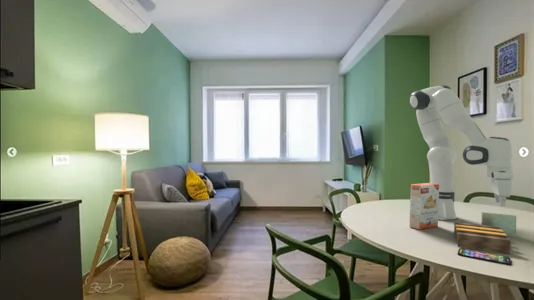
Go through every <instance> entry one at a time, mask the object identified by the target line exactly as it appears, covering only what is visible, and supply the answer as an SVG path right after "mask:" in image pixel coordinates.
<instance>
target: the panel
mask: <svg viewBox="0 0 534 300" xmlns="http://www.w3.org/2000/svg"><path fill="white" fill-rule="evenodd" d="M480 221H481V222H480V223H481V224H480V225H487V226H496V227H500V230H503V231H504V233H505V234H506V235H507V237H516V238H517V215H515V214H506V213H494V212H486V211H485V212H484V211H482V212H481V220H480Z"/></svg>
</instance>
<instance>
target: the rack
mask: <svg viewBox="0 0 534 300" xmlns="http://www.w3.org/2000/svg"><path fill="white" fill-rule="evenodd" d="M453 225H454V227H453V230H454V231H453V233H454V238H455V240H456V244H457V247H459V248H463V249H470V250H477V251H486V252H493V253H498V254H500V253H501V254H506V255H510V254H511V239H510V238H508V236H507V235H506V234H505V233H504V231H503V230H500V227H496V226H487V225H481V224H475V223H469V222H458V221H454V223H453Z"/></svg>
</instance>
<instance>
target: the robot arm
mask: <svg viewBox="0 0 534 300" xmlns="http://www.w3.org/2000/svg"><path fill="white" fill-rule="evenodd" d="M408 100H409V101H408V102H409V104H410V107H411V108H412V109H413V110H416V112H415V113H416V114H415V115H416V120H417V124H418V126H419V129H420V132H421V135H422V137H423V140H424V141H425V142H426V144H427V146H428V147H429V150H428V152H427V154H426V158H427V161H428V162H427V163H428V169H429V173H430V174H429V177H430V183H434V184H439V206H438V221H439V220H441V221H446V220H456V219H457V218H458V217H457V212H456V209H455V208H456V207H455V202H456V201H455V200H456V194H455V189H454V188H455V177H454V172H453V166H452V165H453V164H454V163H455V161H456V160H457V158H458V153H457V151H456V149H455V147H454V145H453V143H452V141H451V140H450V138H449V136H448V134H447V132H446V130H445V127H444V125H443V123H442V122H444V123H445V124H446V125H447V126H449V127H452V128H455V129H456V130H459V131H461V132H462V133H463V134H464V135H465V136H466V138H467V139H468V140H469V141H468V142H470V144H471V145H468V146H466V147H465V148H464V150H463V152H462V159H463V160H464V162H465V163H466V164H468V165H471V166H486V177H487V178H490V189H491V192H492V193H494V199H495V203H497V204H499V206H500V207H502V208H503V207H504V208H505V207H506V202H507V198H510V197H511V192H512V180H514V173H513V164H512V160H513V159H512V158H513V149H512V143H511V141H510V140H509V139H508V138H506V137H500V136H490V137H488V138H487V137H485V134H483V132H482V131H481V129H480V128H479V126H478V125H477V124H476V122H475V121H474V119H473V118H472V116H471V115H470V113H469V112H468V111H467V109H466V108H465V106H464V103H463V102H462V100H461V99H460V98H459V97H458V95H457V94H456V93H455V92H454V91H453V90H452V88H451V87H450V86H449V85H445V84H441V85H437V86H429V87H427V88H423V89H420V90H416V91H414V92H412V93H411V94H410V96H409V99H408Z"/></svg>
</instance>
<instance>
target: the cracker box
mask: <svg viewBox="0 0 534 300" xmlns="http://www.w3.org/2000/svg"><path fill="white" fill-rule="evenodd" d="M409 192H410V194H409V195H410V199H409V202H410V203H409V227H410V228H412V229H417V230H419V231H421V230H427V229H431V228H436V227H438V226H439V219H438V206H439V184H434V183H431V182H423V183H411V184H410V191H409Z"/></svg>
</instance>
